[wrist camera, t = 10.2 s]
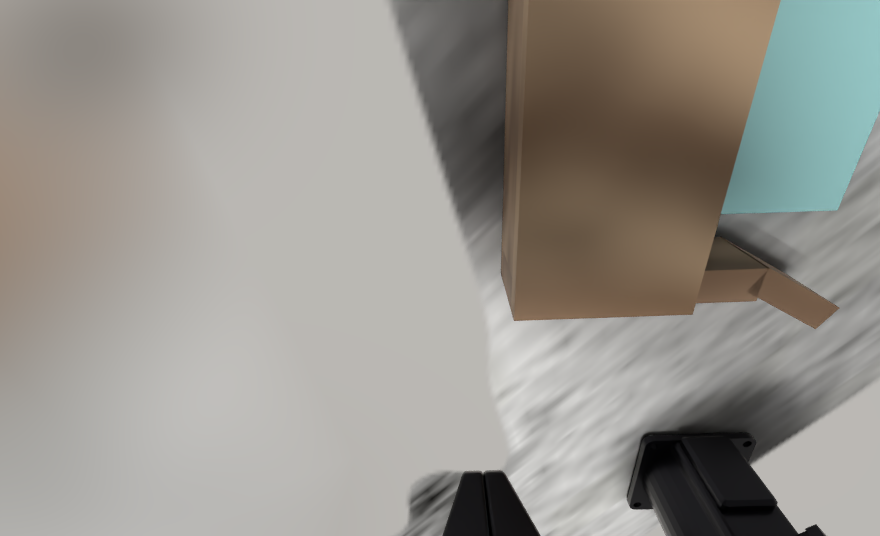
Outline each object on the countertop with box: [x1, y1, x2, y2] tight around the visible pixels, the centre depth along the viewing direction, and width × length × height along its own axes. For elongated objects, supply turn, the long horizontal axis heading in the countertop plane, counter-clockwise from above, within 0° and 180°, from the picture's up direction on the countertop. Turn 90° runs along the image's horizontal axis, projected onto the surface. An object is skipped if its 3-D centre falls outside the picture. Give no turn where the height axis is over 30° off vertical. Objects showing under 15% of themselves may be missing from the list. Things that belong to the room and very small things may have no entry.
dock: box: [501, 0, 839, 329], centre depth 15 cm, size 16×14×4 cm
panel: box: [721, 0, 880, 214], centre depth 16 cm, size 8×12×2 cm, turn 92°
